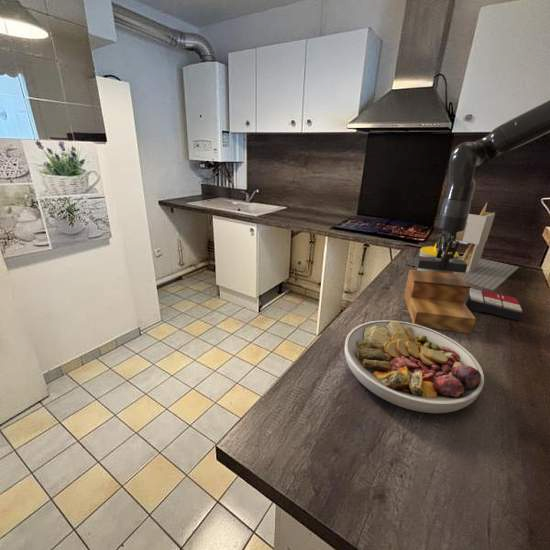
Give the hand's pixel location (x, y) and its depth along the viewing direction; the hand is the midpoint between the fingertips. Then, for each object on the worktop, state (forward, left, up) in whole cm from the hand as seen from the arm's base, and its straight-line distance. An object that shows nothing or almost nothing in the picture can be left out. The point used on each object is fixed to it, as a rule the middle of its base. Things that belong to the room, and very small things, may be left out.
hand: (440, 265), depth 95 cm
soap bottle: (-4, -18, -15) cm, 24 cm away
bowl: (+14, +37, -15) cm, 42 cm away
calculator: (-20, -4, -15) cm, 26 cm away
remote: (0, 0, -1) cm, 1 cm away
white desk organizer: (-24, -47, -15) cm, 55 cm away
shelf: (0, +5, -15) cm, 16 cm away
